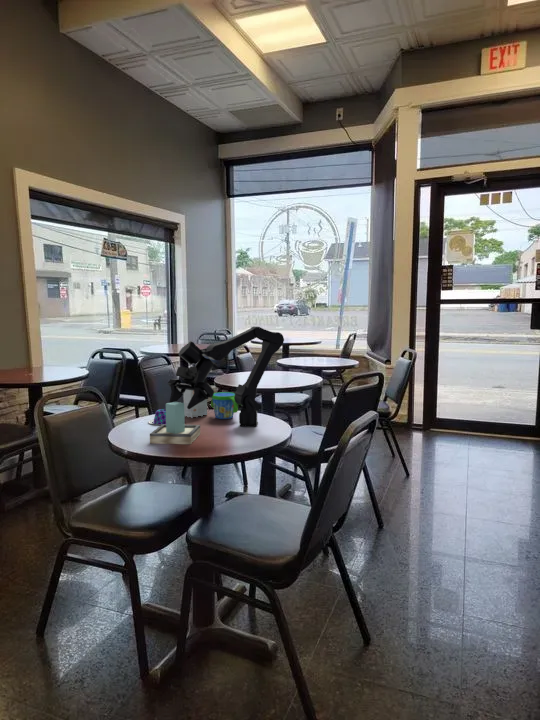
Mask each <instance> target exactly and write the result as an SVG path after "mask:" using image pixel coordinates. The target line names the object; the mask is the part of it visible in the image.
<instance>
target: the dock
mask: <svg viewBox="0 0 540 720" xmlns="http://www.w3.org/2000/svg"><path fill="white" fill-rule="evenodd" d="M200 435H201V424H185V431H184V432H180V433H176V434H174V433H169V432H166V424H162V425H159V426H158V427H157V428H155V429H154V430H153V431H151V433H149V443H150V444H155V445H156V444H159V445H160V444H161V445H192V444H193V443H194V442H195V441H196V439H197V438H198V437H199V436H200ZM192 442H193V443H192Z"/></svg>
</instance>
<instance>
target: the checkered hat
mask: <svg viewBox="0 0 540 720" xmlns="http://www.w3.org/2000/svg"><path fill="white" fill-rule="evenodd" d="M152 422H153V423H152ZM148 423H149V424H150V425H156V426H161V425H162V424H166V408H162V409H161V408H160V409H157V410H156V411H155V414H154V418H153V419H150V420H148Z"/></svg>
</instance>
